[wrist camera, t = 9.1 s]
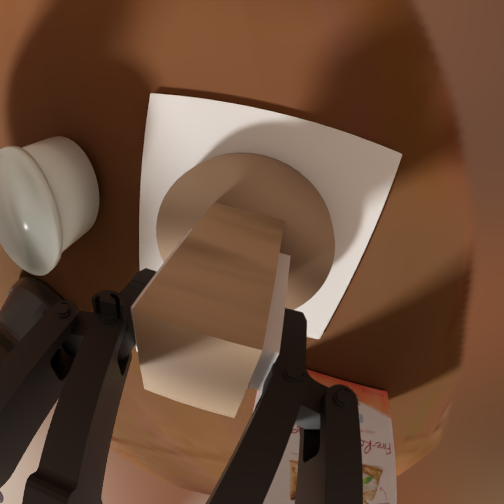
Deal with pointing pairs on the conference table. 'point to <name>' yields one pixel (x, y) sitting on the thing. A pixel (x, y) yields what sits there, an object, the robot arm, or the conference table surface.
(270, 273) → the lid
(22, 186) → the bowl
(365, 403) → the cracker box
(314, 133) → the mat
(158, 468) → the conference table surface
